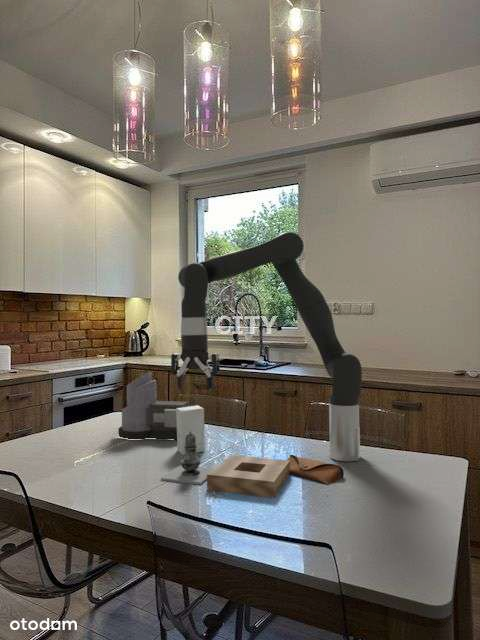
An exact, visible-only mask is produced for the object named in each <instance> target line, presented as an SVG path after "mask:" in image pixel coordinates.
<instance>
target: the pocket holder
mask: <svg viewBox="0 0 480 640" xmlns="http://www.w3.org/2000/svg"><path fill="white" fill-rule="evenodd" d="M289 476H291V475H290V461H289V460H287V459H276V458H266V457H255V456H244V455H233V454H232V455H231V454H230V455H229V456H228V457H226V458H225V459H224V460H222V462H220V463H219V464H218V465H217V466H215V467H214V469H213V470H212V471H211V472H209V473H208V474H207V480H206V490H207V491H214V492H221V493H222V492H223V493H231V494H237V495H239V494H240V495H245V496H246V495H247V496H256V497H264V498H272V499H274V498H276V496H277V494H278V493H279V492H280V490H281V489H282V487H283V486H284V485H285V483H286V482H287V480H288V478H289Z"/></svg>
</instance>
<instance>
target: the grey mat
mask: <svg viewBox="0 0 480 640" xmlns="http://www.w3.org/2000/svg"><path fill="white" fill-rule="evenodd" d="M214 468H215V467H214ZM214 468H213V467H203V466H199V467H198V468H197V469H196V470H198V471H200V474H199V475H196V476H184V475H182V474H181V473H182V472H183V471H184V470H185V469H184V468H183V467H182V465H181V464H180V465H178V466H177V467H175V468H174V469H171V471H169V472H168V473H167V474H165V475H163V476H162V477H160V479H161V480H160V481H166V482H174V483H175V482H176V483H183V484H193V485H201V486H202V485H203V484H204V483H205V482H207V474H208V473H209V472H211V471H212V470H213V469H214Z"/></svg>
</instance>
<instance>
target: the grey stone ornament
mask: <svg viewBox="0 0 480 640" xmlns="http://www.w3.org/2000/svg"><path fill="white" fill-rule="evenodd" d="M189 433H190V434H188V435H187V436H186V437H185V447H184V448H185V455H184V458H182V459H180V461H179V462H180V465H182V467H183V468H184V469H185V470H184V471H183V472H182V473H181V474H182V475H184V476H196V475H199V474H200V471H198V470H196V469H197V468H198V467H200V465H201V462H202V460H201V459H200V458H199V457H197V452H196V448H197V446H196V439H195V435H193V434H191V433H192V432H191V431H190V432H189Z"/></svg>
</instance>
